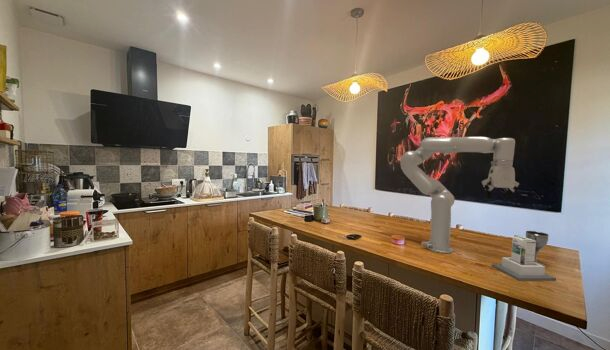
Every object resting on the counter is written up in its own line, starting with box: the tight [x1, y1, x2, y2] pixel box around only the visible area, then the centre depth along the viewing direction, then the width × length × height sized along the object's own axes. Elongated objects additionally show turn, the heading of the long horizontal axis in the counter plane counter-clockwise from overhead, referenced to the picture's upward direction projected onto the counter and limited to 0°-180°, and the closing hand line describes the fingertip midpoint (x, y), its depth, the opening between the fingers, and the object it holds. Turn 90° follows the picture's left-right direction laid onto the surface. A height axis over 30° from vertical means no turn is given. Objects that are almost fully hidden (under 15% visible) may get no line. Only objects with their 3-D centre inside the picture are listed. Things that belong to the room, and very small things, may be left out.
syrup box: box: [510, 235, 536, 265], centre depth 109 cm, size 6×6×14 cm
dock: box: [491, 256, 557, 281], centre depth 109 cm, size 16×14×5 cm
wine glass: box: [525, 230, 549, 267], centre depth 119 cm, size 8×8×15 cm
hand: (498, 199), depth 120 cm, fingers open, 9 cm apart
